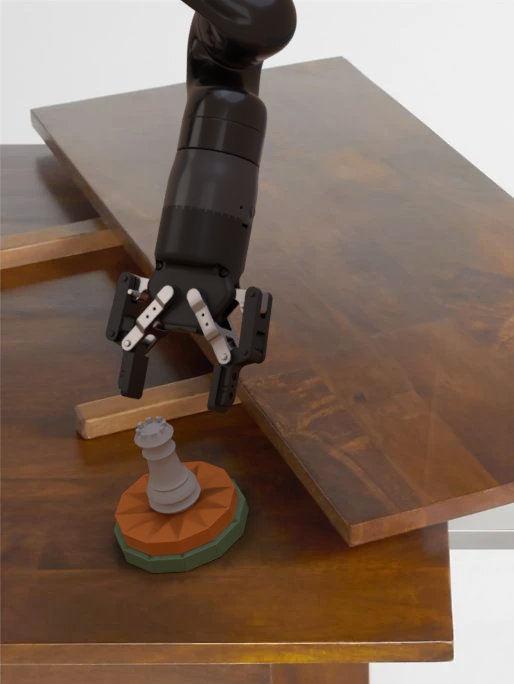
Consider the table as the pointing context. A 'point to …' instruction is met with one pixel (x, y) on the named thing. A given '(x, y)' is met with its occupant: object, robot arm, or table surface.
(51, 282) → the table surface
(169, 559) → the ring stack
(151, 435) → the grey chess rook
